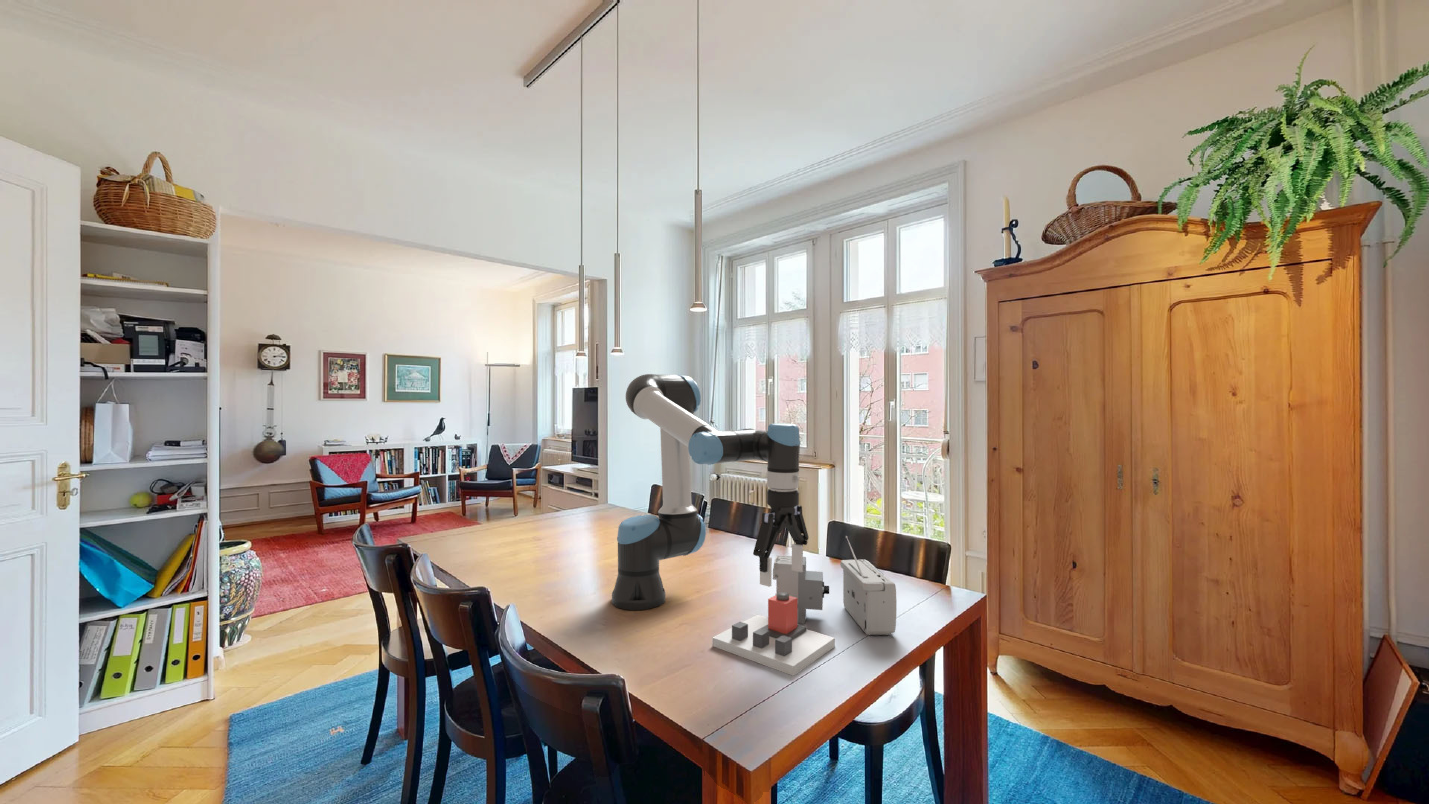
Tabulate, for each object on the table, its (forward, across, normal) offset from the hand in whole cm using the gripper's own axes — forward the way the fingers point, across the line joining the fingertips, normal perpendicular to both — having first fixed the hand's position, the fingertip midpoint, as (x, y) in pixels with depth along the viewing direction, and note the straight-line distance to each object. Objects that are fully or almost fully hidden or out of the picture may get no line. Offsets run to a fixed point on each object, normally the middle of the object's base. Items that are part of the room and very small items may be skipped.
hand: (781, 577), depth 135 cm
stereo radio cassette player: (+15, +24, -11) cm, 30 cm away
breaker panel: (+15, -4, -1) cm, 15 cm away
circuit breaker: (+15, +15, +3) cm, 22 cm away
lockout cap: (+12, 0, 0) cm, 12 cm away
